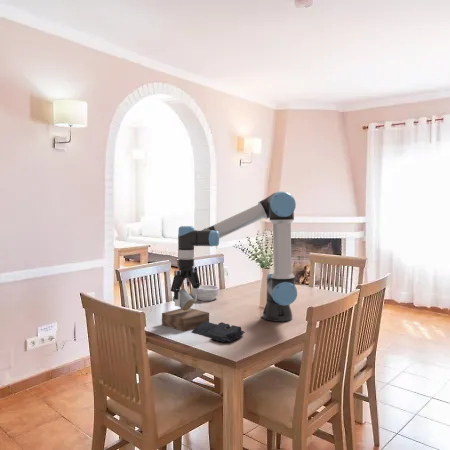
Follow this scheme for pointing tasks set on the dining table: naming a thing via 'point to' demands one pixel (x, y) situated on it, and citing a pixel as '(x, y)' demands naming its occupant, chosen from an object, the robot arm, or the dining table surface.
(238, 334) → the black flat crumpled piece
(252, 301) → the dining table surface
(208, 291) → the paper bowls
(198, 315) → the walnut riser block
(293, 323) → the dining table surface
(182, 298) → the ceramic mug
